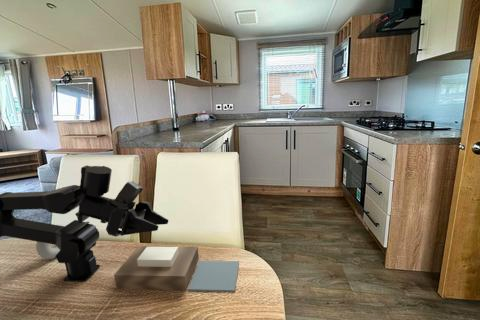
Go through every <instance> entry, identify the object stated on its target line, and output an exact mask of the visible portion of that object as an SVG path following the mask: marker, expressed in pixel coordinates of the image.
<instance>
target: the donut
mask: <svg viewBox="0 0 480 320" xmlns="http://www.w3.org/2000/svg"><path fill="white" fill-rule="evenodd" d="M59 226H62V225H60V224H59ZM35 248H36V249H35V250H36V252H37V254H38V256H40V257H41V258H42V259H46V260H50V259H52V260H53V259H56V257H55V256H56V255H57V253H58V252H59V251H60V249H59V248H58V247H57V246H56V245H54V246H51V244H48V243H42V242H37V241H36V244H35Z"/></svg>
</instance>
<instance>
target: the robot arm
mask: <svg viewBox="0 0 480 320" xmlns="http://www.w3.org/2000/svg"><path fill="white" fill-rule="evenodd" d="M112 171H113V170H112V169H111V168H110V167H108V166H105V165H102V166H101V165H84V166H82V167H81V168H80V181H79V182H80V183H79V185H76V184H73V185H67V186H64V187H60V188H56V189H53V190H49V191H45V190H44V191H28V192H27V191H23V192H21V191H20V192H19V191H18V192H11V191H6V192H3V193H0V238H1V237H7V238H8V237H9V238H14V239H20V240H27V241H32V242H36V243H37V242H42V243H48V244H50V245H54V246H55V245H56V246H57V247H58V248H59V249H60V251H59V252H58V253H57V255H56V256H55V257H56V258H55V259H56V261H57V262H58V263H59V264H64V265H65V270H66V274H67V275H66V276H65V277H63V278H62V279H63V281H64V282H87V281H88V279H90V277H91V276H93V274H95V272H96V271H98V269H99V268H100V267H101V266H100V264H97V259H96V256H95V255H94V254H95V253H94V250H92V249H93V248H94V247H95V246H97V241H99V239H100V231H99V229H98V227H96V225H94V224H92V223H90V221H86V220H87V219H88V218H89V219H90V218H92V219H95V220H99V221H100V223H102V224H107V225H106V228H105V231H106V232H107V234H108V235H109V236H112V237H119V236H121V237H122V236H128V235H135V234H141V233H149V232H156V231H158V230H159V226H160V225H168V223H169V219H168V218H166V217H164V216H163V215H161V214H159V213H158V212H156V211H154V210H153V205H152V204H151V202H149V201H146V200H143V201H140V202H137V203H136V202H135V200H136V198H137V197H138V196H139V194H140V193H142V191H144V190H143V189H144V188H143V187H142V186H141V183H137V182H135V181H127V182H125V184H124V185H123V187H122V188H121V189H120V191H119V192H118V194H117V195H116V197H115V198H110V197H106V196H104V195H106V194H107V193H108V192H110V183H111V177H112ZM76 208H78V211H77V212H76V213H75V216H76V217H77V219H74V220H72V221H71V222H70V223H68V224H66V225H65V226H64V225H61V226H59V225H60V224H59V225H58V224H53V223H47V222H43V221H42V222H41V221H34V220H29V219H23V218H18V217H15V216H14V212H15V211H16V210H18V211H21V210H22V211H24V210H25V211H26V210H44V211H47V212H49V213H51V214H58V215H65V214H68V213H70V212H71V211H73V210H75V209H76Z"/></svg>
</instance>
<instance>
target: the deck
mask: <svg viewBox="0 0 480 320" xmlns="http://www.w3.org/2000/svg"><path fill="white" fill-rule="evenodd" d="M146 247H178V249H179V254H178V256H177V258H176V260H175V262H174V263H173V265H172V267H142V266H138V263H137V259H138V258H139V256H140V255H141V254H142V252H143V251H144V250H145V249H146ZM199 255H200V254H199V246H184V245H183V246H177V245H176V246H171V245H170V246H168V245H167V246H164V245H163V246H162V245H161V246H160V245H159V246H158V245H138V246H137V247H136V248H135V249H134V251H133V252H132V253H131V254H130V255H129V256H128V258H127V259H126V260H125V261H124V262H123V264H122V265H121V266H120V267H119V269H117V270H116V272H115V273H114V274H113V278H114V283H115V284H114V285H115V289H116V290H146V291H147V290H148V291H150V290H151V291H152V290H153V291H187V290H188V288H189V286H190V283H191V280H192V278H193V275H194V273H195V270H196V268H197V265H198V262H199V261H200V260H199V259H200V257H199Z"/></svg>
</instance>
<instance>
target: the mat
mask: <svg viewBox="0 0 480 320" xmlns="http://www.w3.org/2000/svg"><path fill="white" fill-rule="evenodd" d="M239 265H240V261H239V260H198V262H197V265H196V267H195V270H194V272H193V275H192V277H191V280H190V282H189V285H188V287H187V290H188V291H192V292H193V291H194V292H230V293H231V292H232V293H233V292H235V291H236V286H237V279H238V271H239Z"/></svg>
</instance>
